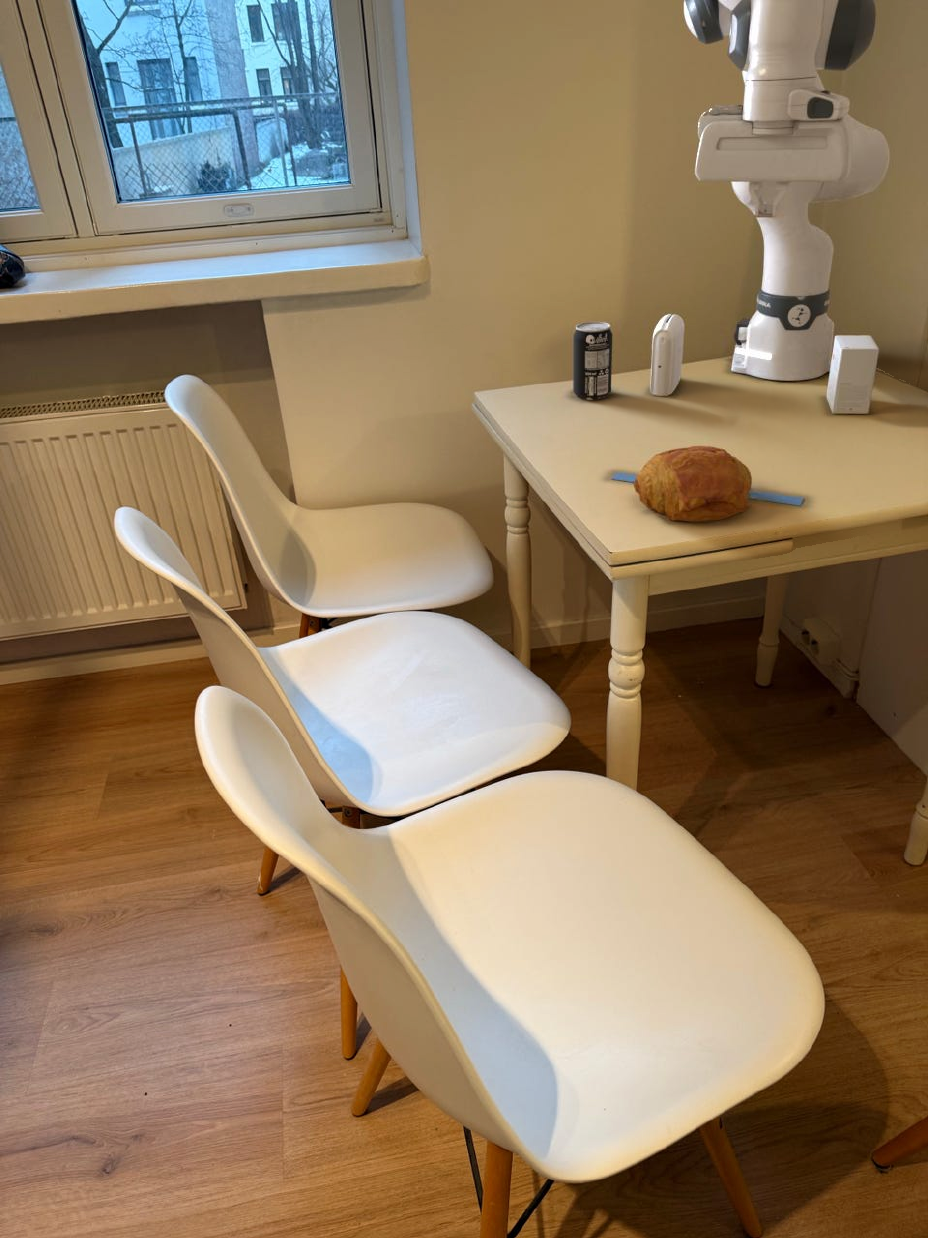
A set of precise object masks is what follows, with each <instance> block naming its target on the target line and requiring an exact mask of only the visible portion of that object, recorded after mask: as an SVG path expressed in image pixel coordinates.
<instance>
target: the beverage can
mask: <svg viewBox="0 0 928 1238" xmlns="http://www.w3.org/2000/svg"><path fill="white" fill-rule="evenodd" d="M610 328H611V324H609V323H608V322H605V321H585V322H580V323H578V324H576V326H575V331H574V333H573V344H572V345H573V348H572V349H573V350H572V351H573V352H572V353H573V355H572V356H573V357H572V358H573V359H572V360H573V363H572V365H573V367H572V368H573V369H572V371H573V373H572V374H573V377H572V379H573V381H572V382H573V383H572V384H573V386H572V390H573V393H574V394H575V396H576V397H577V398H579V399H581V400H588V401H594V400H595V401H596V400H601V399H604V398H606V397H607V396H609V394H610V393H611V392H612V369H613V365H612V364H613V332H612V331H611V329H610Z"/></svg>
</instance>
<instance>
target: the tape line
mask: <svg viewBox="0 0 928 1238" xmlns="http://www.w3.org/2000/svg"><path fill="white" fill-rule="evenodd" d="M637 475H638V474H632V473H625V472H616V473H615V474H614V475H613V476H612V478H611V480H614V481H622V482H627V483H628V482H629V483H635V479H636V476H637ZM804 499H805V497H801V496H800V497H798V496H792V495H784V494H778V493H771V492H764V491H757V490H750V493H749V498H748V500H756V501H764V502H770V503H777V504H785V505H792V506H798V507H801V506H802V503H803V502H804Z"/></svg>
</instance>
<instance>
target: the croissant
mask: <svg viewBox="0 0 928 1238" xmlns="http://www.w3.org/2000/svg"><path fill="white" fill-rule="evenodd" d="M636 475H637V476H636V479H635V482H633V488H634V491H635V493H637V494H638V497H639V502H641V503H643V505H645V506H646V507H648V509H649V510H652V509H653V510H655V511H656V512H657V513H660V514H664V517H665V518H666V519H667V520H671V521H681V522H692V523H696V522H707V521H719V520H720V521H721V520H724V519H726V518H728V517H733V516H735V515H736V514H739V513H742V512H745V511H746V510H748V509H749V508H750V506H749V499H748V498H749V493H750V491H752V485H753V476H752V473H751V471H750V468H749V467H748V466H747V465H746V464H744V463H743V462H742V461H741V460H739V459H738V458H737V457H736V456H732V454H730V453H729V452H728V451H727V450H726V449H723V448H719V447H717V446H711V445H692V446H688V447H678V448H673V449H670V450H666V451H663V452H660V453H657V454H654V456H652V457H651V458H650V459H649V460H648V461H647V462H646V463H645V464H644V465H643V467H642V469H641V470H640V471H639V472H638V473H637V474H636Z"/></svg>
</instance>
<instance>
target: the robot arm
mask: <svg viewBox="0 0 928 1238" xmlns="http://www.w3.org/2000/svg"><path fill="white" fill-rule="evenodd" d="M876 14H877V12H876V2H875V0H683V15H684V20H685V23H686V25H687V28H688V29H689V31H690V32H691V34H692V35H693V36H694V37H696V38H697V39H698V42H699V43H702V44H704V45H710V44H714V43H715V44H716V43H718V42H720V41H723V40H725V39H724V38H725V37H727V36H729V39H728V45H727V46H728V47H727V57H728V58H729V59H730V61H731V62H732V64H733V65H734V66H735V67H736V68H737V69H739V70H740V71H741V75H742V78H743V84H744V94H743V102H742V103H743V104H731V105H726V106H725V105H724V106H721V105H713V106H710V107H709V109H706V110H705V111H703V112H702V113H701V115H700V116H699V118H698V121H697V122H698V123H697V137H698V139H699V144H698V149H697V155H696V160H695V166H694V167H695V168H694V174H695V175H694V176H695V177H696V178H697V180H698V181H699V182H705V183H707V182H708V183H709V182H710V183H711V182H713V183H715V182H719V183H720V182H721V183H725V182H726V183H727V182H729V183H731V187H732V190H733V192H734V195H735V196H736V197H737V199H738V200H739V201H740V202H741V203H742V204H743V205H744V206H745V207H747V208H748V209H749V210H750V212H751V213H752V214H753V215H754V218H755V219H756V220H757V222H758V224H759V227H760V231H761V233H762V239H763V269H762V281H761V287H760V288H759V289H758V294H757V297H756V304H755V309H756V311H755V312H754V314H753V315H752V317H751V318H741V320H739V322H737V323H736V330H735V332H734V334H733V339H734V342H735V345H734V350H733V355H732V363H731V368H730V370H731V372H734V373H738V374H744V375H745V374H746V375H749V376H752V377H756V378H759V379H765V380H770V381H771V380H772V381H785V382H786V381H787V382H788V381H789V382H791V381H792V382H793V381H805V380H812V379H816V378H818V377H821V376H824V375H825V374H826V373H828V372H830V368H831V361H832V354H833V345H834V331H835V322H834V321H833V319H831V318H830V317H829V316H828V314H827V312H828V311H829V305H830V303H831V289H830V288H829V284H830V278H831V272H832V264H833V257H834V250H835V248H834V243H833V241H832V239H831V237H830V235H829V234H828V233H827V232H826V231H824V230H823V229H821V228H819V226H817V225H814V224H812V223H811V222H810V219H809V211H808V210H809V204H814V203H815V204H816V203H829V202H839V201H846V200H850V199H853V198H857V197H859V196H862V195H865V194H869V193H872V192H873V191H875V190H876V189H877V188H878V187H879V185H880V184H882V182H883V180H884V178H885V176H886V174H887V172H888V169H889V165H890V159H891V158H890V156H891V155H890V154H891V153H890V147H889V144H888V140H887V139H886V136H884V134H883V133H882V132H881V131H880V130H878V129H876V128H873V127H870V126H868V125H866V124H864V123H862V122H860V121H858V120H857V119H855V118H854V117H853V116H851V115H850V114H849V111H850V105H851V101H850V99H849V98H848V97H846V96H844V95H842V94H838V93H835V92H831V91H830V90H827V89H825V86H824V85H823V82H822V80H821V77H820V75H819V73H818V70H819V71H820V70H824V71H836V72H837V71H839V72H842V71H843V72H844V71H846V70H847V69H849V68H850V67H852V66H853V65H854V63H856V62H857V61H858V60H860V58H862V56H863V55H864V54H865V53H866V51H867V50H868V49H869V47H870V45H871V43H872V40H873V37H874V33H875V27H876V20H877V19H876V17H877V15H876ZM707 114H708V115H707ZM741 341H746V342H741Z"/></svg>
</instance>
